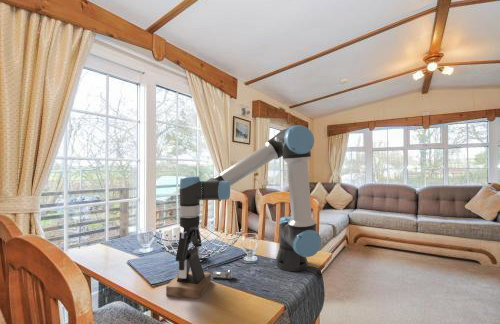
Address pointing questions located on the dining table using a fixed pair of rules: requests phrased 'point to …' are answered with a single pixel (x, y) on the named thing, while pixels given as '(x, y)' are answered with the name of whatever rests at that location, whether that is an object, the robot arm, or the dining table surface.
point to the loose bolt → (223, 274)
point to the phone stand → (193, 267)
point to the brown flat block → (188, 287)
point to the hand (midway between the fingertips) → (189, 269)
